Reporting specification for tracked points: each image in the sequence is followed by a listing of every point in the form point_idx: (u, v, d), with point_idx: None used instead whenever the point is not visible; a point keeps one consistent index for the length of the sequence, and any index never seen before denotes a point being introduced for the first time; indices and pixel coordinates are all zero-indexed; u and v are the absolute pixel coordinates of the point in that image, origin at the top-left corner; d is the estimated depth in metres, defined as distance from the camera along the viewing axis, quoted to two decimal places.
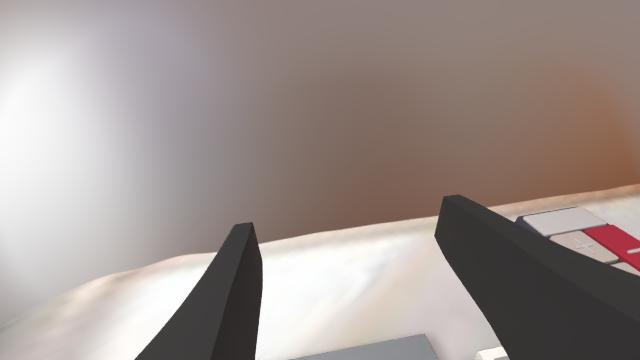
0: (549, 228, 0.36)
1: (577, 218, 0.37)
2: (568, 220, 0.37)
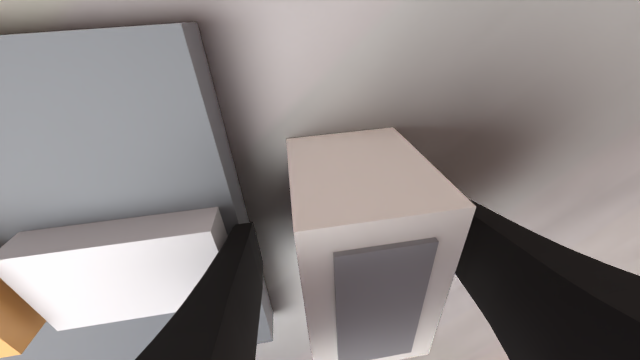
0: None
1: None
2: None
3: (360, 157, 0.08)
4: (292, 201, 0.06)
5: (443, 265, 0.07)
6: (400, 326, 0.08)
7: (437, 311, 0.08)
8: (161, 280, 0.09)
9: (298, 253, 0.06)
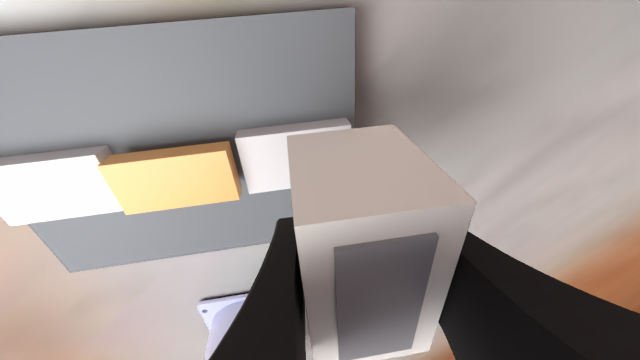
0: None
1: None
2: None
3: (360, 153, 0.08)
4: (292, 196, 0.06)
5: (443, 261, 0.07)
6: (400, 322, 0.08)
7: (437, 307, 0.08)
8: None
9: (299, 248, 0.06)
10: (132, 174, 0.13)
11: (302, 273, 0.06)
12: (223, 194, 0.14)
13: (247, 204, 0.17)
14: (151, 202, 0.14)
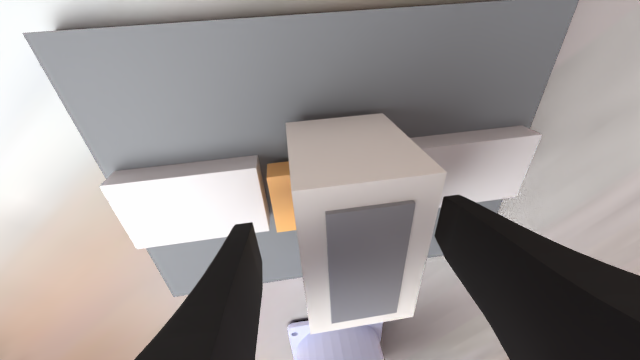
0: None
1: None
2: None
3: (351, 137, 0.09)
4: (290, 169, 0.07)
5: (421, 227, 0.08)
6: (385, 285, 0.09)
7: (418, 272, 0.09)
8: (490, 172, 0.13)
9: (295, 211, 0.07)
10: None
11: (298, 235, 0.07)
12: None
13: None
14: None
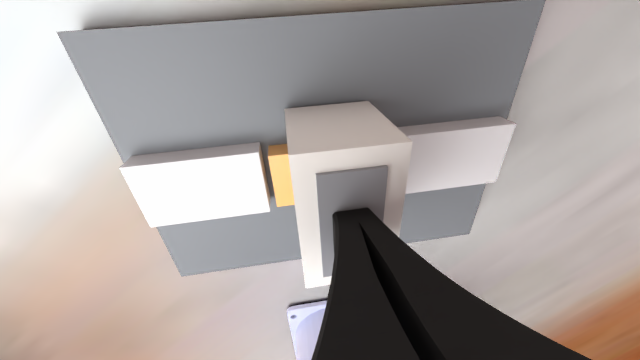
0: None
1: None
2: None
3: (339, 118, 0.11)
4: (288, 141, 0.09)
5: (395, 190, 0.09)
6: None
7: (395, 231, 0.11)
8: (470, 159, 0.14)
9: (291, 172, 0.09)
10: None
11: (294, 194, 0.09)
12: None
13: None
14: None
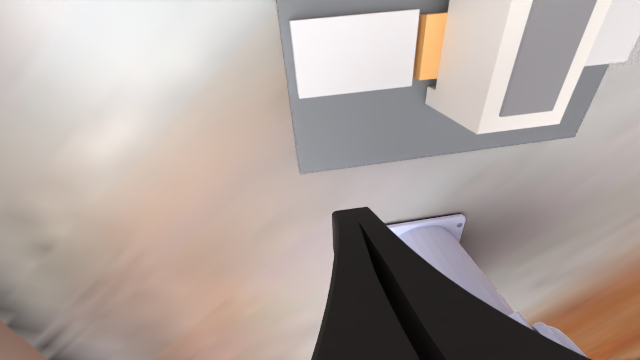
0: None
1: None
2: None
3: None
4: None
5: (602, 2, 0.10)
6: (556, 70, 0.11)
7: (582, 62, 0.11)
8: (609, 30, 0.14)
9: None
10: None
11: None
12: None
13: None
14: None
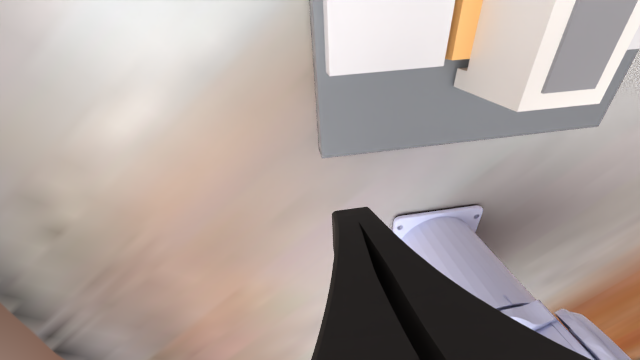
0: None
1: None
2: None
3: None
4: None
5: None
6: (604, 45, 0.10)
7: (629, 37, 0.10)
8: None
9: None
10: None
11: None
12: None
13: None
14: None
